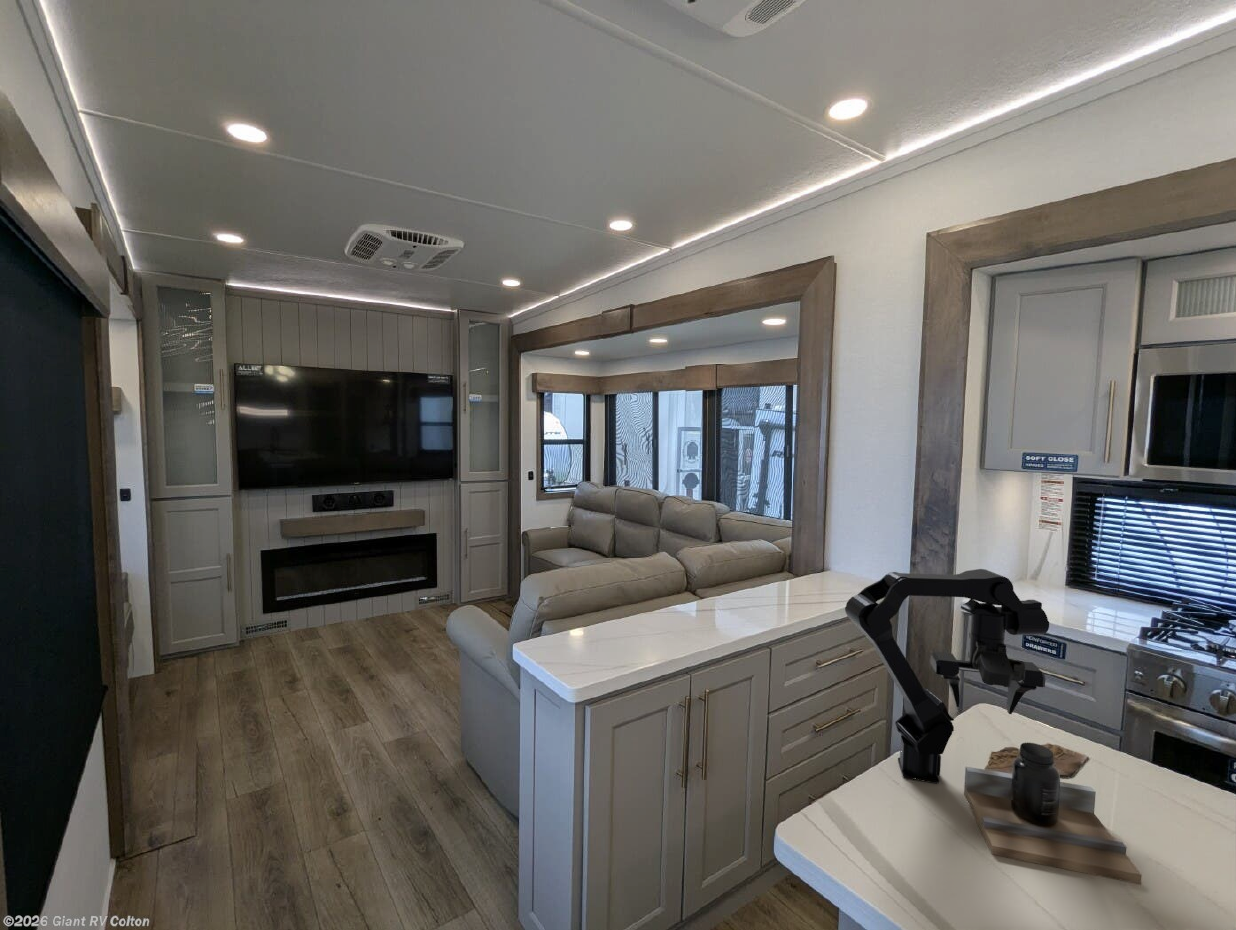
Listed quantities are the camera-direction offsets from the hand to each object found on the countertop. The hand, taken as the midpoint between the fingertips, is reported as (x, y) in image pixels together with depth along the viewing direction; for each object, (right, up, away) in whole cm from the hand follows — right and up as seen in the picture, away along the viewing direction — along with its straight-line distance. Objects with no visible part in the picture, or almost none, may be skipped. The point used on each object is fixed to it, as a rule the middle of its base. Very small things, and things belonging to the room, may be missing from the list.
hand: (982, 709), depth 115 cm
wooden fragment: (+13, -13, +4) cm, 19 cm away
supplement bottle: (0, -13, -14) cm, 19 cm away
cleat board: (0, -14, -17) cm, 22 cm away
